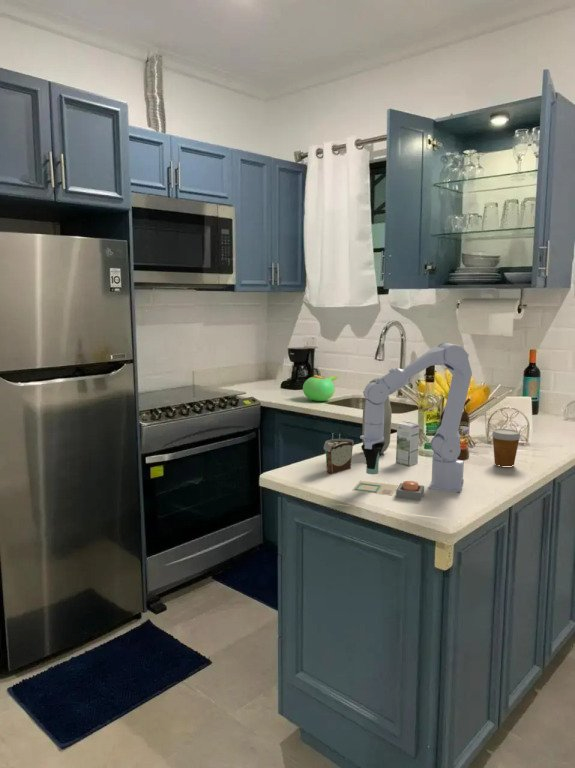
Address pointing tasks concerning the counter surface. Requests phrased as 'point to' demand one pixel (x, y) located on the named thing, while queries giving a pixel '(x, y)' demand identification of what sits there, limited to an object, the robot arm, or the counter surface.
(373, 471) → the teal rounded cylinder
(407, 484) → the button
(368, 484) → the card sheet
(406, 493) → the button housing
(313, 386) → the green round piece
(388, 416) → the grey bottle
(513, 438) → the disposable coffee cup
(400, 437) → the syrup box
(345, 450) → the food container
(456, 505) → the counter surface
